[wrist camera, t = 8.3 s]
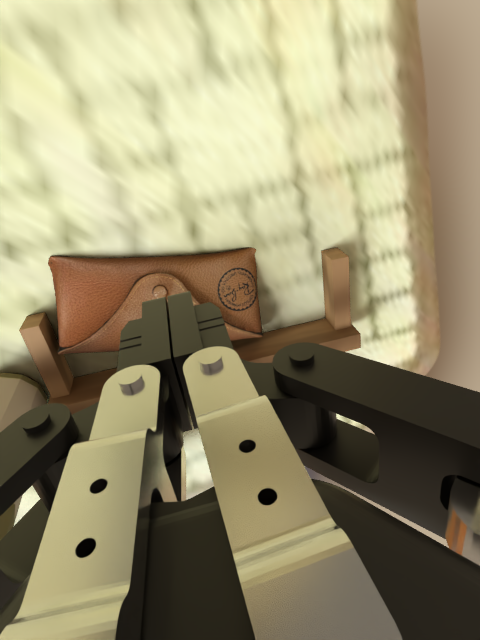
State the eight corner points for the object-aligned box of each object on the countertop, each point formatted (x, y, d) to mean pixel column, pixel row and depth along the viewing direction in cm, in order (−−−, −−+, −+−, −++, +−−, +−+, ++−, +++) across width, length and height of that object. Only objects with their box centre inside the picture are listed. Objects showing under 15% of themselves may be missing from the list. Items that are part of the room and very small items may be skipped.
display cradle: (24, 316, 35) (2, 354, 30) (339, 246, 38) (370, 270, 33) (60, 395, 39) (47, 440, 34) (343, 327, 42) (370, 359, 37)
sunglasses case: (261, 241, 36) (277, 305, 33) (251, 289, 42) (264, 347, 39) (39, 254, 33) (32, 326, 30) (62, 304, 39) (58, 369, 36)
